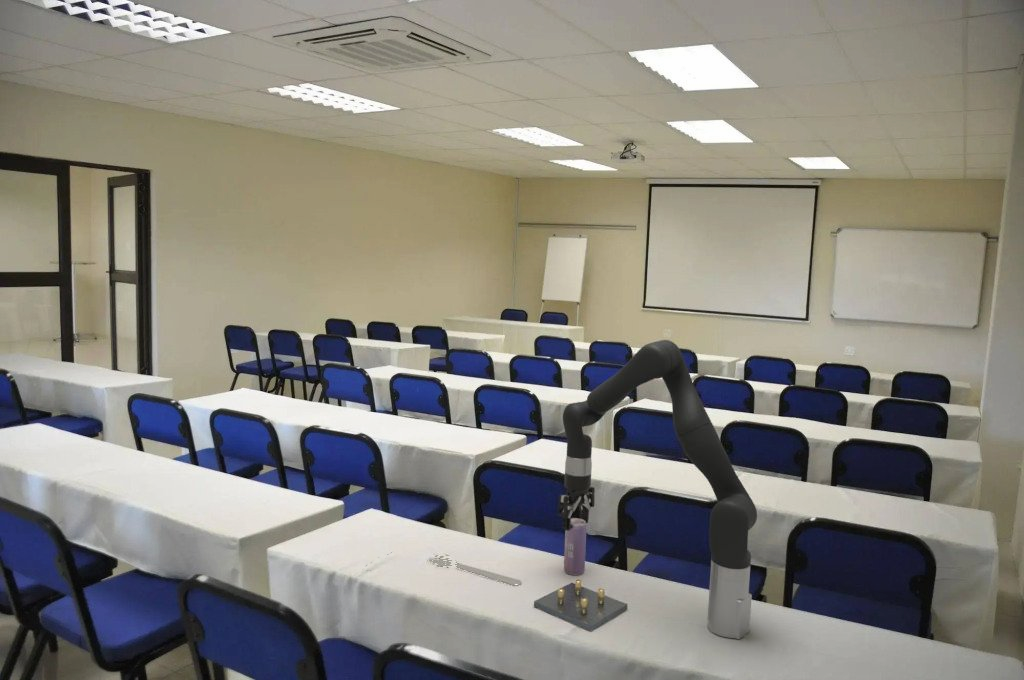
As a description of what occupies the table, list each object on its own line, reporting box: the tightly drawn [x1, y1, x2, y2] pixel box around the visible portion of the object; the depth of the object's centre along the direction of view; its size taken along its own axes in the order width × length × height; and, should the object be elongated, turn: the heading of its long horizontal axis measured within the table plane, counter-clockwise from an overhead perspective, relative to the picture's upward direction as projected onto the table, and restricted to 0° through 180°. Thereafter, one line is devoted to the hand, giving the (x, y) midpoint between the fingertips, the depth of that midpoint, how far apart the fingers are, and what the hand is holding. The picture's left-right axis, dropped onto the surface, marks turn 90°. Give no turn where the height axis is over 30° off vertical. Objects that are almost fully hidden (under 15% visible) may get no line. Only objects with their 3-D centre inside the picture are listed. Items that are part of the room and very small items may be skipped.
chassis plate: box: [533, 579, 629, 632], centre depth 188 cm, size 18×16×5 cm
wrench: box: [428, 554, 523, 587], centre depth 209 cm, size 8×32×1 cm, turn 59°
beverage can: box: [563, 517, 587, 576], centre depth 210 cm, size 6×6×15 cm
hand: (575, 526), depth 210 cm, fingers open, 8 cm apart
